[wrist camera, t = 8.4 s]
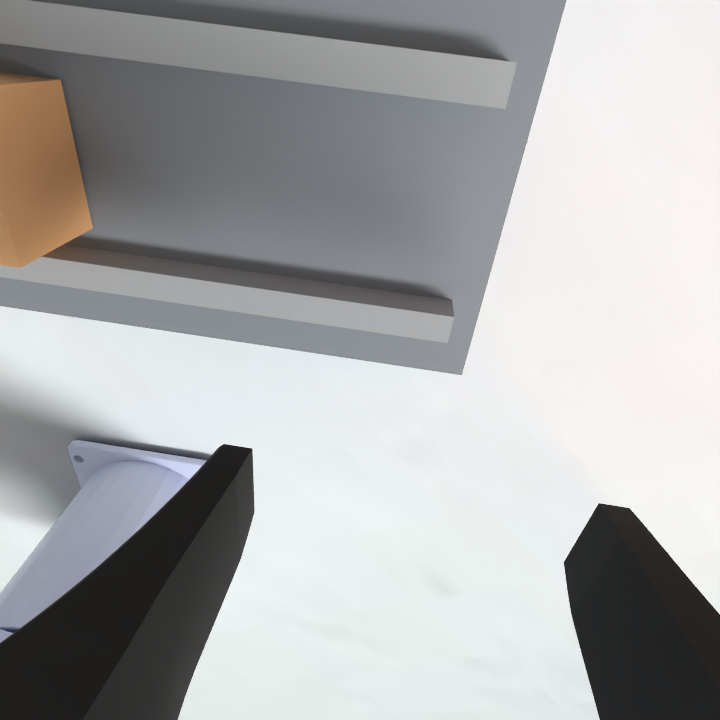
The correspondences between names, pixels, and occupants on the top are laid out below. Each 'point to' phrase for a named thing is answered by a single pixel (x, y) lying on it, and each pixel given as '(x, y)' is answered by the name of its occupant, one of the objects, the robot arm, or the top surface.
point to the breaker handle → (37, 171)
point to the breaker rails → (286, 165)
